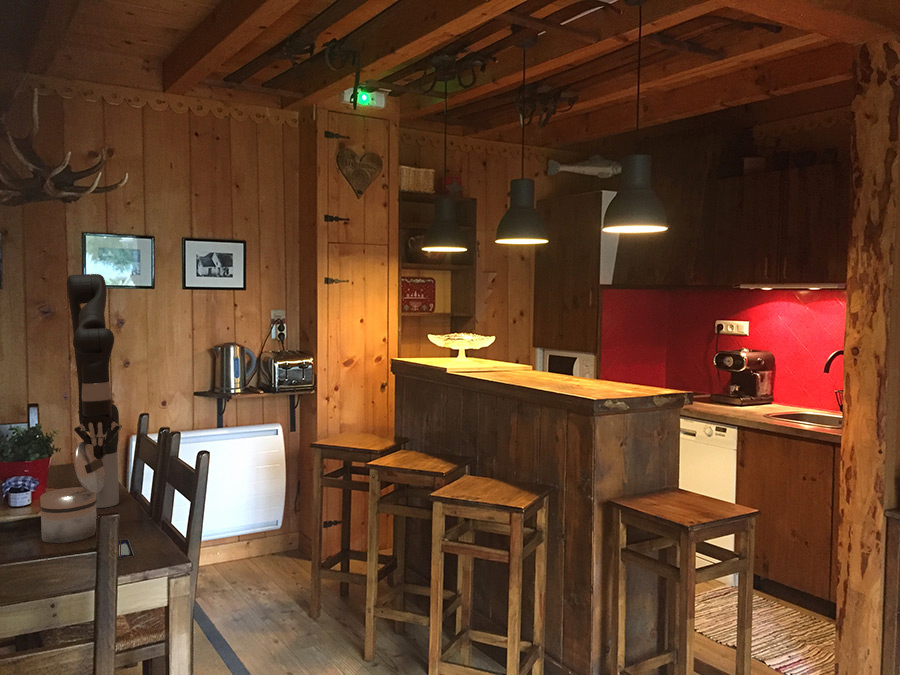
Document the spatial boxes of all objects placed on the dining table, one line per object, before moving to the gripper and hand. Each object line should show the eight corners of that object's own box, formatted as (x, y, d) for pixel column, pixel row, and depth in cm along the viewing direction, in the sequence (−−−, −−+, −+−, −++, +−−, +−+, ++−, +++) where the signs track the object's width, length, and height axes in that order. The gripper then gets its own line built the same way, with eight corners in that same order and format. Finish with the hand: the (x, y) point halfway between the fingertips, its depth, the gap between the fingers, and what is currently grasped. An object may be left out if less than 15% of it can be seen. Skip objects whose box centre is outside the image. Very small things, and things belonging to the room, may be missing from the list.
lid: (89, 437, 217) (99, 435, 217) (105, 486, 218) (114, 483, 218) (67, 448, 202) (77, 445, 202) (84, 499, 203) (94, 496, 203)
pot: (55, 528, 217) (53, 487, 217) (105, 526, 218) (104, 486, 218) (31, 544, 203) (29, 500, 202) (85, 542, 204) (84, 499, 204)
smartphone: (103, 561, 188) (99, 543, 201) (103, 564, 188) (99, 546, 202) (134, 556, 192) (128, 538, 205) (134, 559, 192) (128, 541, 205)
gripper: (125, 395, 215) (128, 454, 216) (78, 397, 214) (81, 456, 215) (115, 399, 208) (118, 460, 209) (67, 400, 207) (70, 462, 208)
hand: (99, 458), depth 212 cm, fingers closed
